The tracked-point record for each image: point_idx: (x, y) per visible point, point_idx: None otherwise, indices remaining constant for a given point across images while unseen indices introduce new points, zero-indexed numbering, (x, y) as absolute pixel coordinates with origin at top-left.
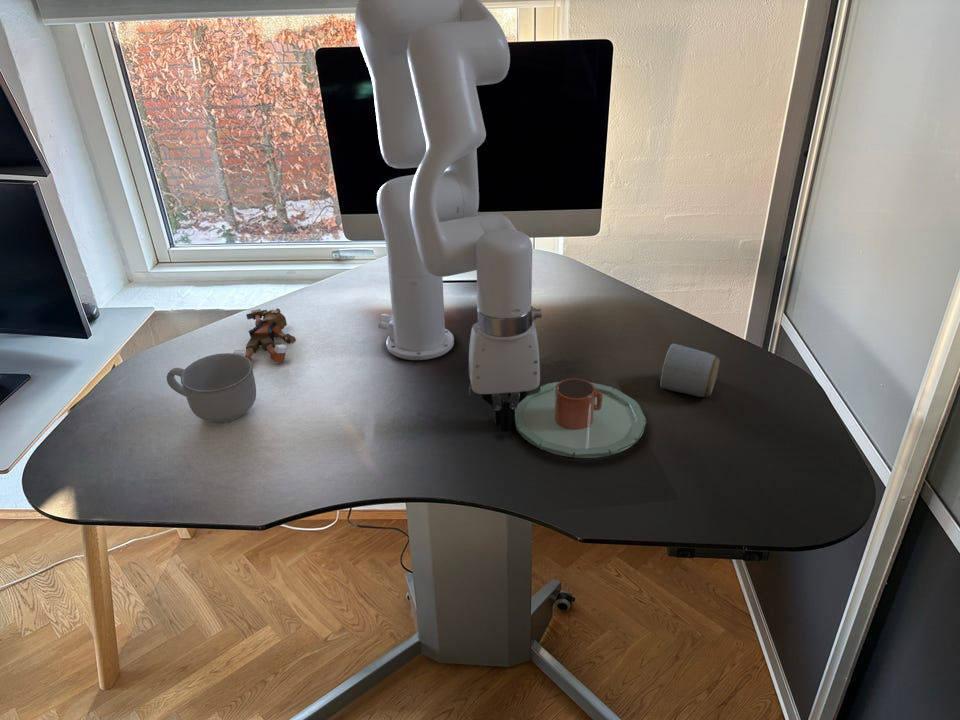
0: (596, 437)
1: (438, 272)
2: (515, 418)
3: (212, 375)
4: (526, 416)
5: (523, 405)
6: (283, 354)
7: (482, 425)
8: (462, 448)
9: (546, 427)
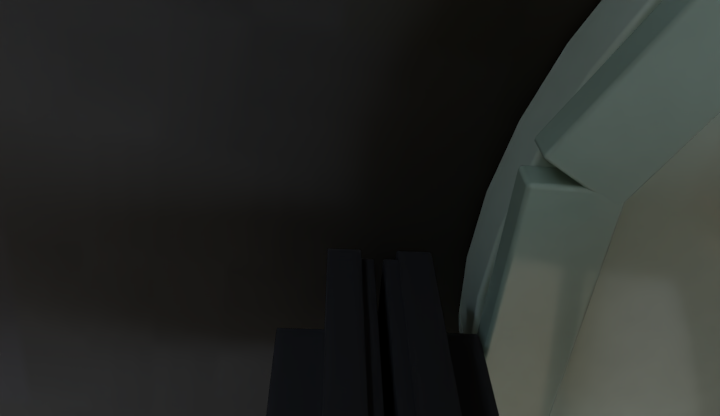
0: None
1: None
2: (496, 330)
3: None
4: (627, 246)
5: (683, 130)
6: None
7: (181, 171)
8: (18, 407)
9: (715, 406)
